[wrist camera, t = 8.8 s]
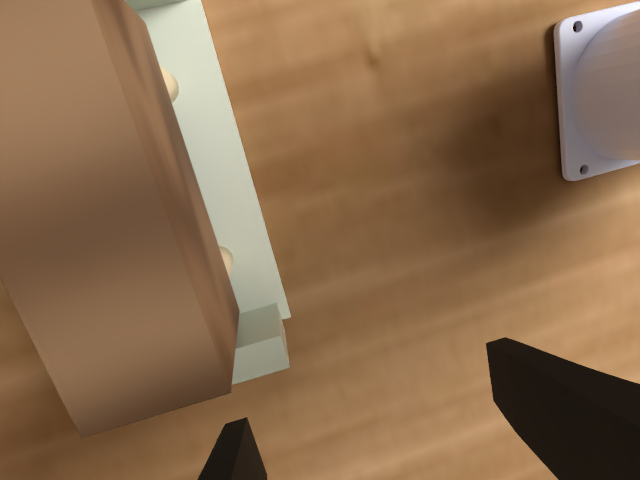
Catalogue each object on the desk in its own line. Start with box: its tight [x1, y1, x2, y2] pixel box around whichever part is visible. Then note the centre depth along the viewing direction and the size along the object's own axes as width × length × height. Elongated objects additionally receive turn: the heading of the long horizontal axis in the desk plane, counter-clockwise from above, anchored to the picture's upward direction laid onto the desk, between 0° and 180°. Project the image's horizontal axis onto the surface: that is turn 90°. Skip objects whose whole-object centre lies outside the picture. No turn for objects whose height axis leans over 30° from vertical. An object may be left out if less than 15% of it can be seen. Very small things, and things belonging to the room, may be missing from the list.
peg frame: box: [124, 0, 291, 385], centre depth 16 cm, size 17×8×4 cm, turn 13°
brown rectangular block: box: [0, 0, 240, 438], centre depth 13 cm, size 12×4×6 cm, turn 13°
